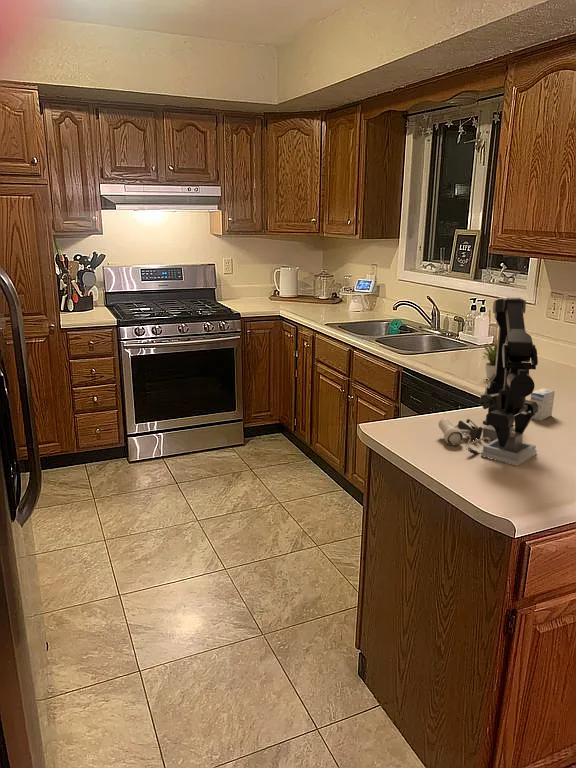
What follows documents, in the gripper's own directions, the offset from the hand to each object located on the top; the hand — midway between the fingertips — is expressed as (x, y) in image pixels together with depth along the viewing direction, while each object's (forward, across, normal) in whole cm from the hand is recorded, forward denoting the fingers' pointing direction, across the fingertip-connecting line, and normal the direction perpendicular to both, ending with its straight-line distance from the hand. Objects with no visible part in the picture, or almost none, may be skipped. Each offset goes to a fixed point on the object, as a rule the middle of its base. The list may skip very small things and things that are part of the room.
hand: (509, 442), depth 163 cm
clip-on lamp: (+4, +1, -13) cm, 13 cm away
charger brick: (+2, 0, 0) cm, 2 cm away
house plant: (+4, -73, -42) cm, 84 cm away
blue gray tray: (+4, 0, 0) cm, 4 cm away
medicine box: (+4, -39, -8) cm, 40 cm away
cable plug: (+4, -9, -9) cm, 13 cm away
